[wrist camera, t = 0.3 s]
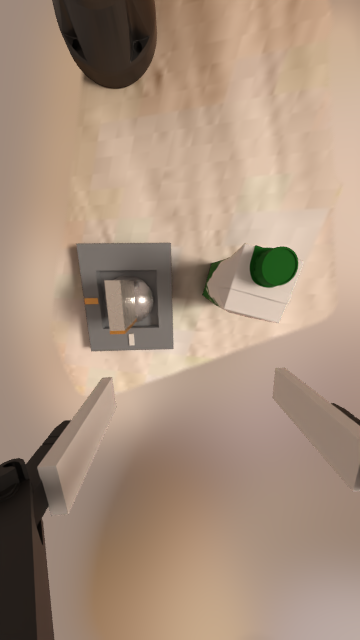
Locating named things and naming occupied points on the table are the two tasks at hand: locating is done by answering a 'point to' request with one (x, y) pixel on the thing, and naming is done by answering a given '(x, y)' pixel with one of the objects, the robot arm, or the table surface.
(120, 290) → the dial
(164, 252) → the panel
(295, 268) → the milk carton
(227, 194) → the table surface
